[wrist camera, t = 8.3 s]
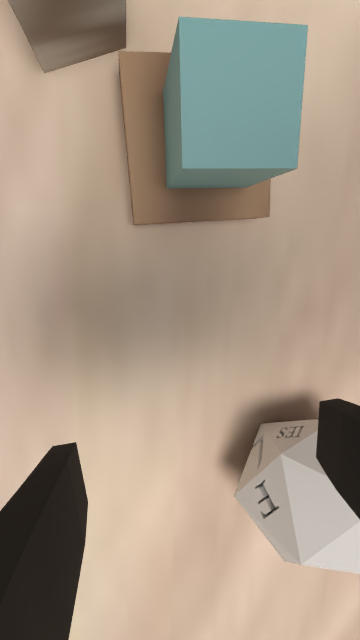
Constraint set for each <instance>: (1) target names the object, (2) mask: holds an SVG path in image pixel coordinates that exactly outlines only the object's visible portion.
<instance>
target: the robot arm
mask: <svg viewBox="0 0 360 640" xmlns="http://www.w3.org/2000/svg"><path fill="white" fill-rule="evenodd" d="M316 458H317V460H318V462H319V463H320V465H321V467H322V468H323V470H324V472H325V473H326V475H327V477H328V478H329V480H330V481H331V483H332V484H333V486H334V487H335V489H336V490H337V492H338V493H339V494H340V495H341V497H342V498H343V499H344V500H345V502H346V503H347V504H348V506H349V507H350V508H351V509H352V511H353V512H354V513H355V514H356V516H357V517H358V518H359V519H360V406H358V405H356V404H353V403H350V402H347V401H344V400H341V399H332V400H326V401H320V405H319V419H318V433H317V448H316ZM87 508H88V500H87V495H86V490H85V485H84V480H83V475H82V470H81V465H80V460H79V455H78V450H77V445H76V442H75V443H69V444H63V445H57V446H53V447H52V448H51V449H50V450H49V451H48V453H47V454H46V455H45V456H44V457H43V459H42V460H41V461H40V463H39V464H38V465H37V466H36V468H35V469H34V470H33V471H32V473H31V474H30V475H29V476H28V478H27V479H26V480H25V482H24V483H23V484H22V485H21V487H20V488H19V489H18V490H17V492H16V493H15V494H14V495H13V496H12V498H11V499H10V500H9V501H8V502H7V504H6V505H5V506H4V507H3V508H2V510H1V511H0V640H68V639H69V633H70V627H71V622H72V616H73V610H74V605H75V599H76V593H77V588H78V582H79V576H80V570H81V564H82V559H83V553H84V547H85V537H86V524H87Z"/></svg>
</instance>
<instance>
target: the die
mask: <svg viewBox="0 0 360 640" xmlns="http://www.w3.org/2000/svg"><path fill="white" fill-rule="evenodd" d="M317 433H318V419H312V420H300V421H288V422H276V423H264V424H261V425H260V428H259V431H258V433H257V436H256V438H255V441H254V444H253V448H252V449H251V452H250V454H249V457H248V460H247V462H246V465H245V468H244V470H243V473H242V475H241V478H240V481H239V483H238V486H237V489H236V491H235V494H234V497H235V498H236V499H237V500H238V502H239V503H240V504H241V506H242V507H243V508H244V510H245V511H246V512H247V513H248V515H249V516H250V517H251V519H252V520H253V521H254V523H255V524H256V525H257V526H258V528H259V529H260V530H261V532H262V533H263V534H264V536H265V537H266V538H267V539H268V541H269V542H270V543H271V545H272V546H273V547H274V549H275V550H276V551H277V552H278V554H279V555H280V556H281V558H282V559H283V560H284V561H287V562H291V563H295V564H299V565H305V566H312V567H318V568H325V569H332V570H338V571H345V572H351V573H358V574H360V519H359V518H358V517H357V516H356V514H355V513H354V512H353V511H352V509H351V508H350V507H349V506H348V504H347V503H346V502H345V500H344V499H343V498H342V497H341V495H340V494H339V493H338V492H337V490H336V489H335V487H334V486H333V484H332V483H331V481H330V480H329V478H328V477H327V475H326V473H325V472H324V470H323V468H322V467H321V465H320V463H319V462H318V460H317V458H316V448H317Z"/></svg>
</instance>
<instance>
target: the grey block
mask: <svg viewBox="0 0 360 640" xmlns="http://www.w3.org/2000/svg"><path fill="white" fill-rule="evenodd" d="M8 1H9V3H10V5H11V7H12V9H13V11H14V13H15V15H16V17H17V19H18V21H19V23H20V25H21V27H22V29H23V31H24V33H25V35H26V37H27V39H28V41H29V43H30V45H31V47H32V49H33V51H34V53H35V55H36V57H37V59H38V61H39V63H40V65H41V67H42V69H43V71H44V73H47V72H50V71H53V70H56V69H60V68H63V67H66V66H69V65H72V64H76V63H79V62H82V61H85V60H88V59H92V58H95V57H98V56H101V55H104V54H107V53H111V52H114V51H117V50H120V49H123V48H126V0H8Z"/></svg>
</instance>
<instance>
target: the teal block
mask: <svg viewBox="0 0 360 640" xmlns="http://www.w3.org/2000/svg"><path fill="white" fill-rule="evenodd" d="M307 30H308V25H298V24H283V23H267V22H251V21H236V20H220V19H205V18H189V17H179V19H178V24H177V29H176V33H175V38H174V43H173V47H172V52H171V57H170V61H169V66H168V71H167V75H166V80H165V85H164V90H163V102H164V130H165V158H166V185H167V188H247V187H249V186H252V185H255V184H257V183H260V182H262V181H265V180H268V179H270V178H273V177H276V176H278V175H281V174H284V173H286V172H289V171H291V170H294V169H297V163H298V149H299V136H300V123H301V109H302V96H303V83H304V70H305V56H306V43H307Z"/></svg>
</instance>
